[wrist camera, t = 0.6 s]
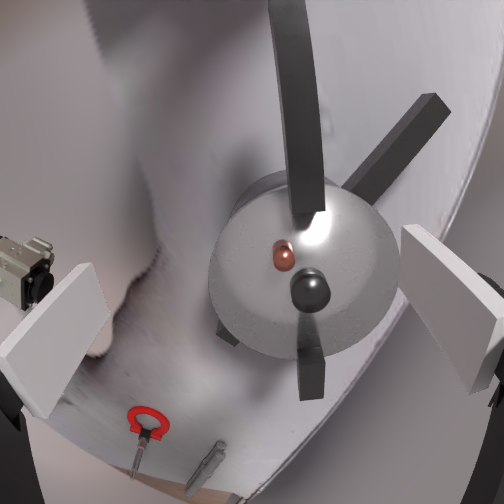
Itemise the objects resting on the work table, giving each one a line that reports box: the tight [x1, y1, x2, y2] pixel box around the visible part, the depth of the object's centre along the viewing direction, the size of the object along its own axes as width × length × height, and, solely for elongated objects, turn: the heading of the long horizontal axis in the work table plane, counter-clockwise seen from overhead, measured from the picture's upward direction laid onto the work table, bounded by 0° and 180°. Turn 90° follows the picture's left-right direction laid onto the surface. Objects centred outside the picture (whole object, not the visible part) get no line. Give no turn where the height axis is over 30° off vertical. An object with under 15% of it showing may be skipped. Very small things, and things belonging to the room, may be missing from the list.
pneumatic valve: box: [0, 236, 54, 311], centre depth 35 cm, size 6×12×12 cm, turn 68°
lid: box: [208, 0, 400, 401], centre depth 24 cm, size 35×17×4 cm, turn 6°
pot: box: [216, 93, 451, 347], centre depth 32 cm, size 26×26×11 cm
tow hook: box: [127, 406, 169, 480], centre depth 48 cm, size 8×13×9 cm
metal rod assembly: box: [185, 441, 226, 498], centre depth 58 cm, size 26×3×5 cm, turn 157°
